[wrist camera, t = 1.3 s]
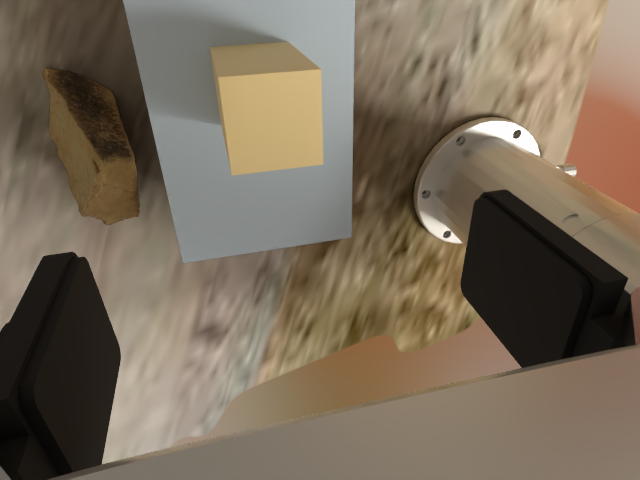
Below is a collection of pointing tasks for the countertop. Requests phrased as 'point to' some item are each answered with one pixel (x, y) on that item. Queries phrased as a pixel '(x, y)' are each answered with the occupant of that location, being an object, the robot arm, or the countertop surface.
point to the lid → (250, 119)
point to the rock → (92, 146)
